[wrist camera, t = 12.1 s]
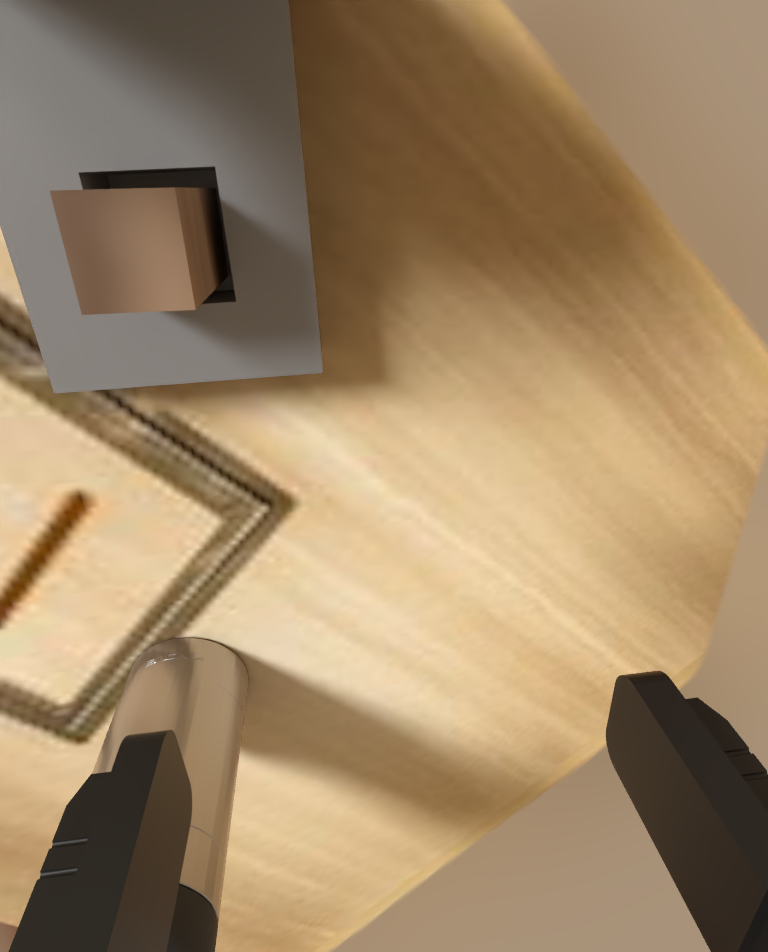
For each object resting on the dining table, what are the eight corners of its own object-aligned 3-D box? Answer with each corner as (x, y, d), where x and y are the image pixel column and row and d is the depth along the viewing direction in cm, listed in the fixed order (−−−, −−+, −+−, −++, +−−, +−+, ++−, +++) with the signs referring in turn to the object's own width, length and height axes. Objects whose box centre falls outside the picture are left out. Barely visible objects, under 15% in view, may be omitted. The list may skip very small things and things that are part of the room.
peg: (215, 188, 30) (174, 187, 21) (227, 276, 32) (195, 309, 23) (128, 190, 29) (49, 190, 20) (146, 279, 31) (81, 315, 22)
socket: (321, 349, 35) (323, 372, 31) (87, 366, 34) (54, 393, 30) (286, -25, 27) (281, -68, 23) (-24, -20, 26) (-93, -63, 21)
